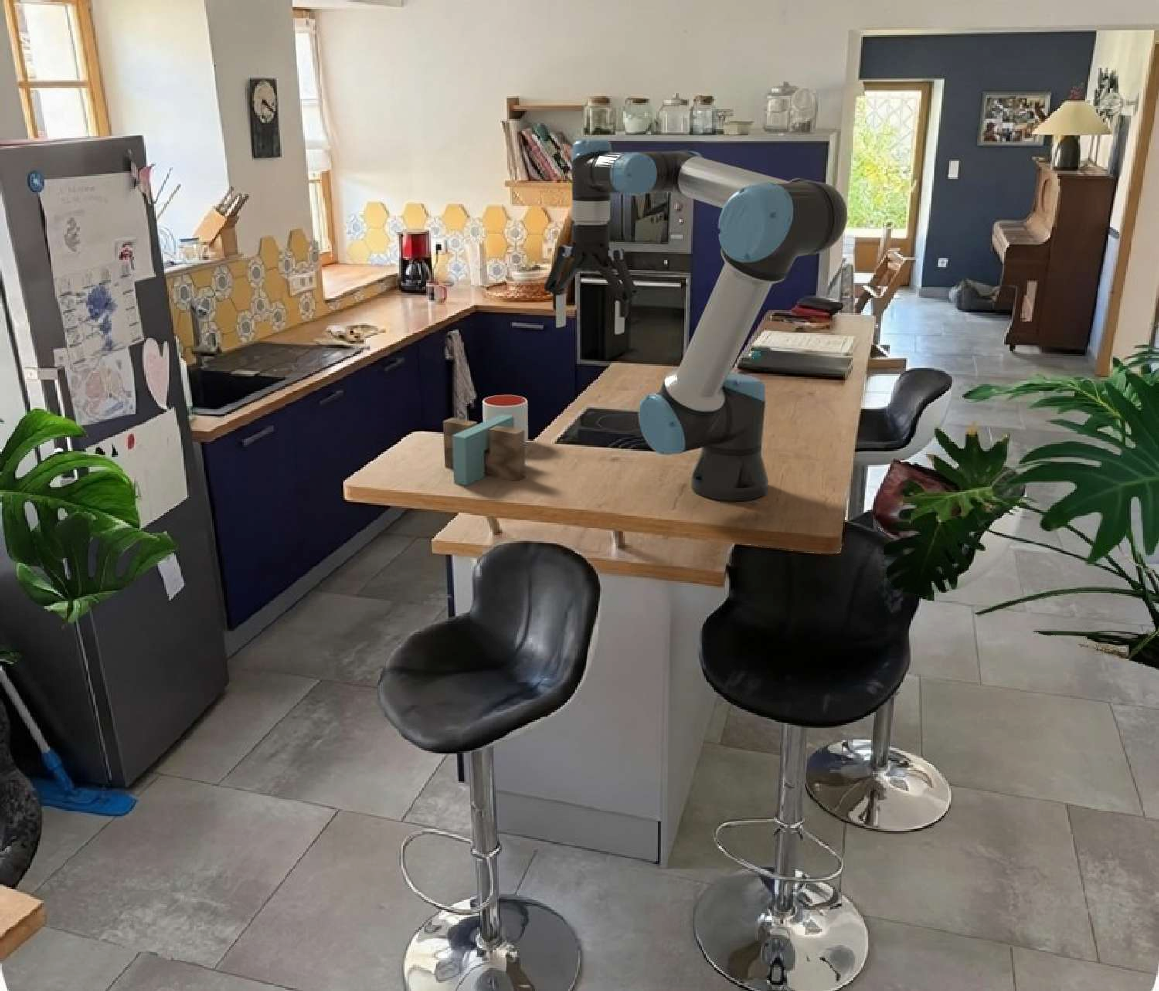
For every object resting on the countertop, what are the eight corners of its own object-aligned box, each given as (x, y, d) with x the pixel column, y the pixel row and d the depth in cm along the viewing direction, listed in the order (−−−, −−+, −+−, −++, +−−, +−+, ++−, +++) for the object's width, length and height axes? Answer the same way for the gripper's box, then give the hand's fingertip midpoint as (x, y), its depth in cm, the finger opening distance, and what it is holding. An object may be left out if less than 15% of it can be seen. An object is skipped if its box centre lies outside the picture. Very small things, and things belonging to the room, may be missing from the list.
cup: (521, 451, 226) (521, 407, 222) (478, 448, 228) (477, 405, 224) (532, 438, 235) (532, 396, 231) (490, 435, 237) (489, 393, 233)
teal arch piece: (502, 458, 221) (501, 414, 217) (514, 460, 219) (513, 416, 216) (454, 483, 206) (452, 435, 202) (466, 485, 205) (464, 437, 201)
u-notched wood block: (524, 476, 210) (524, 430, 206) (517, 481, 207) (516, 434, 204) (453, 462, 218) (451, 417, 214) (445, 466, 215) (443, 421, 212)
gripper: (656, 224, 198) (653, 332, 206) (546, 217, 210) (546, 320, 217) (639, 227, 192) (636, 339, 200) (527, 220, 204) (528, 326, 211)
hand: (589, 329), depth 208 cm, fingers open, 13 cm apart
